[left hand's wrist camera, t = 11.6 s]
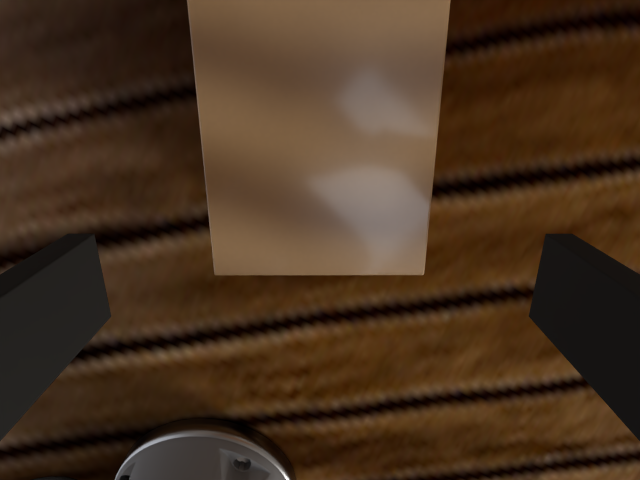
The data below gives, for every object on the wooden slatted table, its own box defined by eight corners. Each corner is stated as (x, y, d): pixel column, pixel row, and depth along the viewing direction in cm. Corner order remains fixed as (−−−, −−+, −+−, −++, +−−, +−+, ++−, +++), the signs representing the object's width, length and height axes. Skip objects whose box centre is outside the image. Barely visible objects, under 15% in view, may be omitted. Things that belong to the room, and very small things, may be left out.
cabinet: (223, -121, 21) (161, -251, 13) (414, -121, 21) (475, -251, 13) (246, 217, 28) (214, 275, 20) (393, 217, 28) (424, 275, 20)
